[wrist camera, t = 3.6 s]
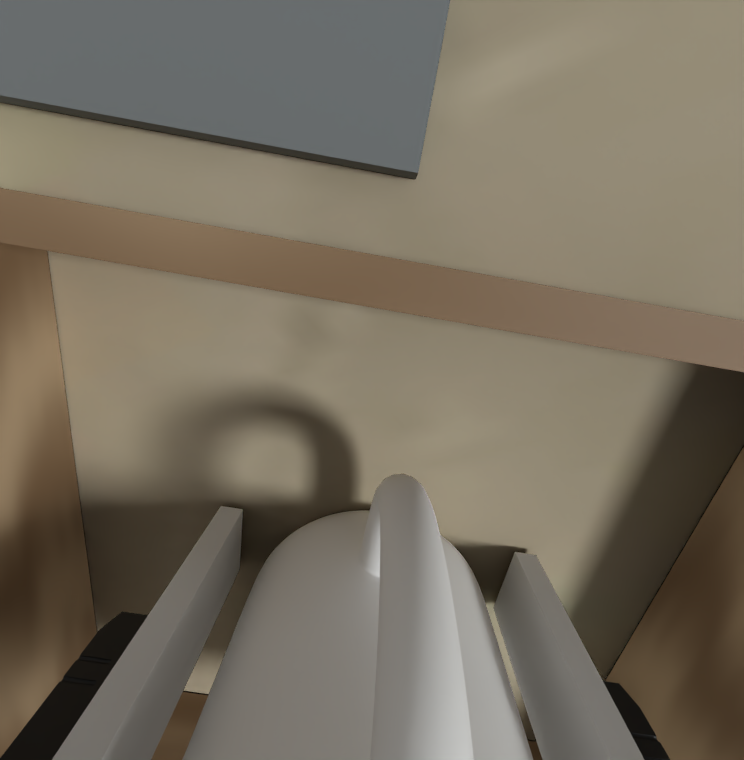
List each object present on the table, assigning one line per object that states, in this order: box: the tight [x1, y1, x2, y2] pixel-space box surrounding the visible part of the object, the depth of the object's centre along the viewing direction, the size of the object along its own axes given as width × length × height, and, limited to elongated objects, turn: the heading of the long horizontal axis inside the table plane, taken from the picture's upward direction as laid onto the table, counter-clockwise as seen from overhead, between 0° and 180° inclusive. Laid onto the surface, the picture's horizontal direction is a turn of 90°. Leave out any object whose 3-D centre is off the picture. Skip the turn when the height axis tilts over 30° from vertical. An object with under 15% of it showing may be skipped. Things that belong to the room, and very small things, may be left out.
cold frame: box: [0, 188, 744, 760], centre depth 10 cm, size 20×23×4 cm
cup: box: [182, 474, 533, 760], centre depth 8 cm, size 8×12×10 cm
